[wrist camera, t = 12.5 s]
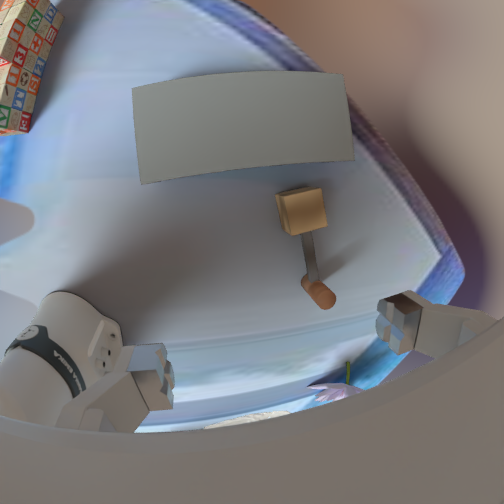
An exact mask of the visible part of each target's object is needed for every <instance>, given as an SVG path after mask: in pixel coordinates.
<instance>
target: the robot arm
mask: <svg viewBox="0 0 504 504" xmlns="http://www.w3.org/2000/svg"><path fill="white" fill-rule="evenodd" d="M377 311H378V312H379V316H378V317H377V319H376V331H377V334H378V336H379V338H380V339H381V340H382V341H385V342H388V343H389V348H390V349H391V350H393V351H394V352H395V353H396V354H397V355H400V354H403V353H405V352H408V351H410V350H413V349H414V350H416V351H418V352H421V353H423V354H426V355H428V356H431V357H434V358H436V359H434V360H433V361H430V362H429V363H427V364H425V365H423V366H421V367H418V368H416V369H414V370H412V371H410V372H408V373H406V374H404V375H401V376H399V377H397V378H395V379H392V380H390V381H388V382H385V383H383V384H380V385H378V386H375V387H373V388H370V389H368V390H365V391H362V392H359V393H357V394H354V395H351V396H348V397H345V398H342V399H339V400H336V401H333V402H330V403H327V404H323V405H320V406H317V407H313V408H309V409H306V410H302V411H298V412H294V413H290V414H286V415H282V416H278V417H273V418H269V419H264V420H259V421H254V422H248V423H243V424H237V425H230V426H224V427H216V428H208V429H199V430H189V431H176V432H152V433H133V432H134V431H135V430H136V429H137V428H138V426H139V425H140V424H141V423H142V421H143V420H144V419H145V417H146V416H147V415H148V414H149V411H156V410H168V409H173V399H174V395H173V393H172V389H173V388H174V385H175V380H174V372H173V368H172V365H171V362H169V361H168V360H167V350H166V348H165V345H164V344H163V343H154V344H142V345H129V346H123V342H122V336H121V330H120V326H119V324H118V323H117V322H115V321H114V320H112V319H110V318H108V317H105V316H103V315H102V314H100V313H99V312H98V311H97V310H96V309H95V308H94V307H93V306H92V305H90V304H89V303H88V302H87V301H85V300H84V299H82V298H81V297H79V296H77V295H74V294H71V293H68V292H54V293H51V294H49V295H48V296H46V297H45V298H44V299H43V300H42V302H41V304H40V306H39V309H38V311H37V313H36V315H35V317H34V319H33V320H32V322H31V323H30V325H29V326H28V327H27V328H26V329H24V330H23V331H22V332H21V333H20V334H19V335H18V336H17V338H16V339H15V340H14V341H13V342H12V343H11V345H10V346H9V347H8V349H7V350H6V352H5V357H4V358H3V359H2V360H1V362H0V504H504V317H503V318H502V319H500V320H496V319H495V318H493V317H492V316H490V315H488V314H487V313H485V312H483V311H479V310H472V309H465V308H460V307H454V306H448V305H442V304H432V303H431V302H429V301H428V300H426V299H424V298H423V297H421V296H420V295H418V294H416V293H415V292H413V291H411V290H407V291H405V292H402V293H399V294H396V295H393V296H390V297H387V298H384V299H381V300H379V302H378V305H377ZM112 334H114V335H115V336H113V335H112Z"/></svg>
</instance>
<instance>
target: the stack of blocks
mask: <svg viewBox="0 0 504 504" xmlns="http://www.w3.org/2000/svg"><path fill="white" fill-rule="evenodd" d="M63 20H64V16H63V15H62V14H61V13H60V12H59V11H58V10H57V9H56V8H55V7H54V6H53V4H52V3H51V2H50V1H49V0H5V1H4V3H3V4H2V6H1V8H0V136H9V135H18V134H25V133H28V132H29V126H30V121H31V116H32V115H31V114H32V113H33V108H34V104H35V100H36V95H37V92H38V88H39V85H40V81H41V77H42V74H43V71H44V67H45V64H46V61H47V58H48V55H49V52H50V50H51V47H52V45H53V43H54V40H55V38H56V35H57V33H58V30H59V28H60V26H61V24H62V22H63Z"/></svg>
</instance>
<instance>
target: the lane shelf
mask: <svg viewBox="0 0 504 504" xmlns="http://www.w3.org/2000/svg"><path fill="white" fill-rule="evenodd" d="M132 100H133V116H134V128H135V139H136V149H137V158H138V166H139V174H140V181H141V185H143V184H149V183H155V182H161V181H164V180H169V179H175V178H181V177H187V176H193V175H200V174H206V173H216V172H222V171H228V170H236V169H244V168H253V167H263V166H278V165H286V164H297V163H312V162H334V161H355V158H354V148H353V138H352V130H351V122H350V115H349V108H348V102H347V95H346V89H345V84H344V78H343V74H333V73H322V72H304V71H251V72H233V73H221V74H211V75H202V76H194V77H187V78H181V79H175V80H169V81H163V82H158V83H153V84H148V85H144V86H139V87H135V88H132Z"/></svg>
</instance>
